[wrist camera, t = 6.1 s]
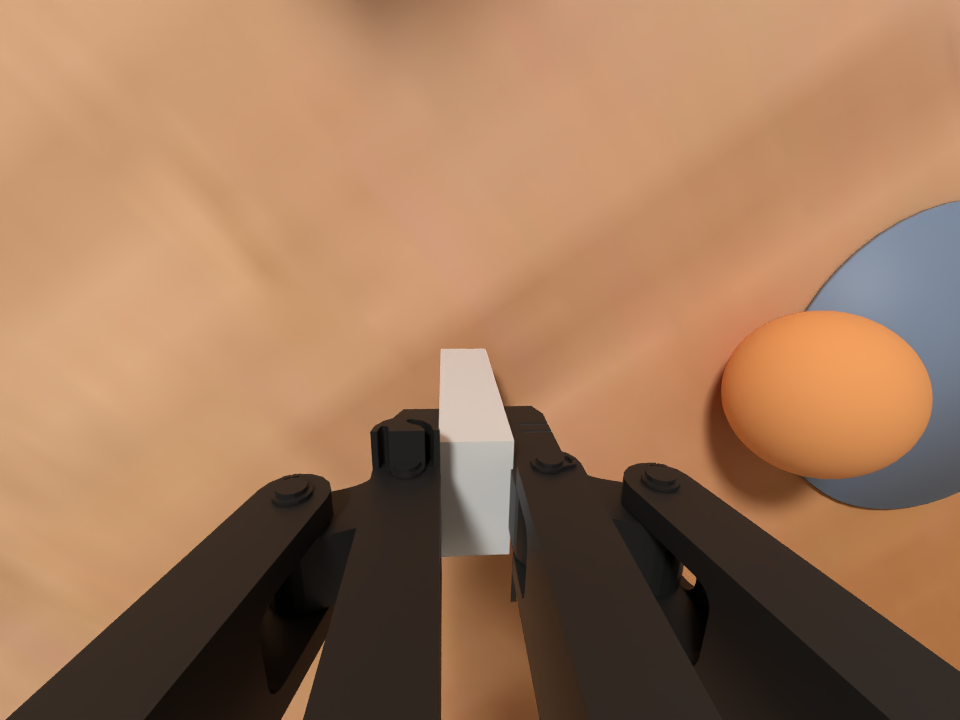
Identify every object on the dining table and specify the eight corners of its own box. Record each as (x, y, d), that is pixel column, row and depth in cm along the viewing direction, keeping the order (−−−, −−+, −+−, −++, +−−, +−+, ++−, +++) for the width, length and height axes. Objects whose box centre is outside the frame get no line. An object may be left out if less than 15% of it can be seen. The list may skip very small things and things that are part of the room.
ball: (945, 524, 13) (752, 508, 13) (821, 434, 18) (684, 424, 18) (1029, 343, 11) (805, 329, 12) (866, 301, 16) (713, 291, 17)
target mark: (1017, 502, 21) (1022, 504, 20) (747, 511, 20) (750, 514, 19) (1149, 201, 17) (1157, 201, 16) (820, 194, 16) (825, 194, 15)
